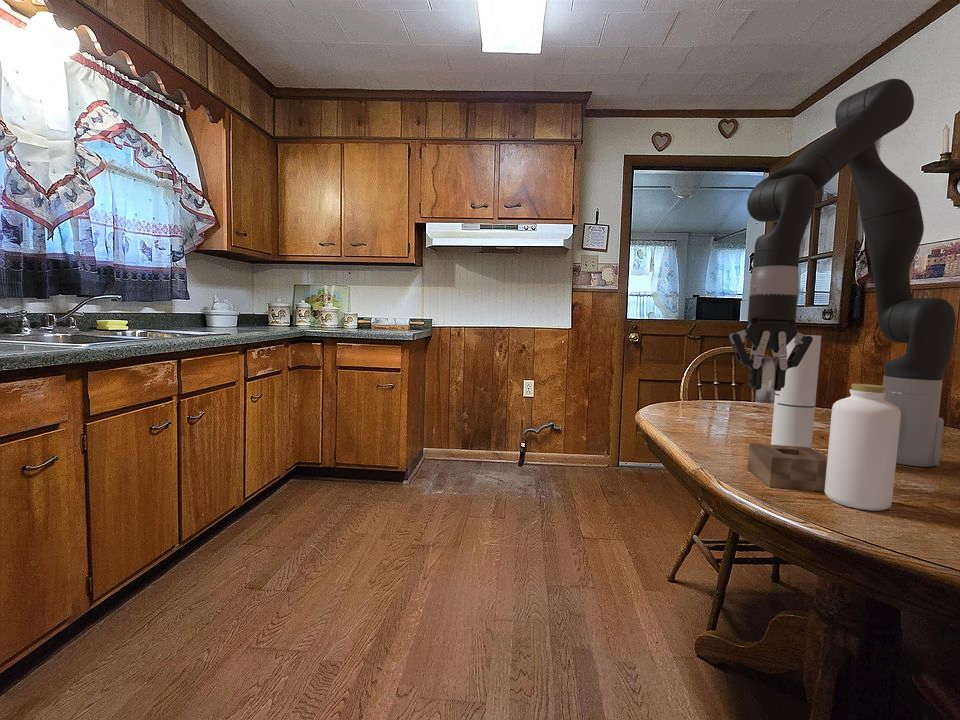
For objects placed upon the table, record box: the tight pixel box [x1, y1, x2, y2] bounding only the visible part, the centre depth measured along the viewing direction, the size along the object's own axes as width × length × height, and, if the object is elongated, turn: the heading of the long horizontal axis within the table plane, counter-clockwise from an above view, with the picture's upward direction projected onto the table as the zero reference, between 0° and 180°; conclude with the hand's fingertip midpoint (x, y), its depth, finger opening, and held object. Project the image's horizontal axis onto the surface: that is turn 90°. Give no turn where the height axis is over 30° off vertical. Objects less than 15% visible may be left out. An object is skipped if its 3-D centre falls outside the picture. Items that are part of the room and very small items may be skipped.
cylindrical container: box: [770, 334, 822, 449], centre depth 106 cm, size 7×7×25 cm
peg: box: [754, 356, 778, 405], centre depth 94 cm, size 3×3×8 cm
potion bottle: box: [824, 383, 901, 512], centre depth 78 cm, size 8×8×18 cm
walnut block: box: [747, 442, 828, 492], centre depth 89 cm, size 10×10×5 cm
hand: (765, 389), depth 94 cm, fingers closed on peg, 3 cm apart
